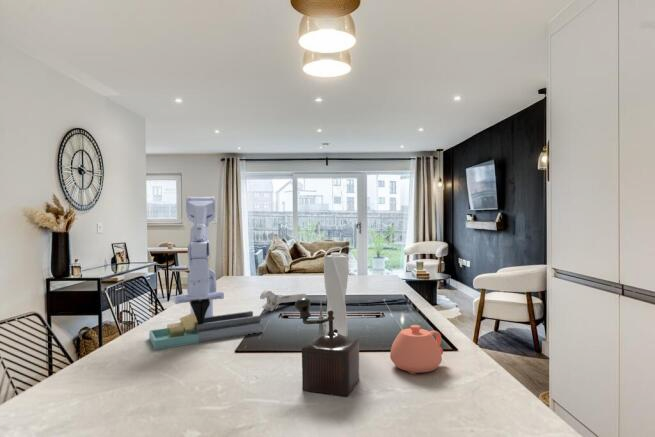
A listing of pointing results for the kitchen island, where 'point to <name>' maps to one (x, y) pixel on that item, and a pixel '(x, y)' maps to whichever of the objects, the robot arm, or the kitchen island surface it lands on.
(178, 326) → the chip
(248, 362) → the kitchen island surface
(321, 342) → the brown manual coffee grinder
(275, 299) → the wrench
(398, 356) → the sugar bowl
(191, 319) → the wooden cube
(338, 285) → the skyscraper
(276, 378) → the kitchen island surface
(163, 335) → the tray
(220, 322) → the slot block
